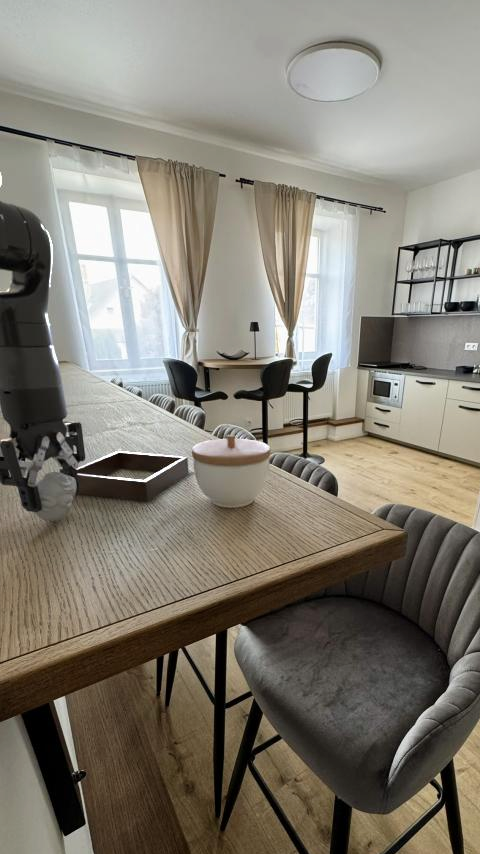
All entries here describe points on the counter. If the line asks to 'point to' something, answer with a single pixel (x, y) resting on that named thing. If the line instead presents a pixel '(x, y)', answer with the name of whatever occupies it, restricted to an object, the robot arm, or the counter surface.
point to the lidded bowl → (231, 470)
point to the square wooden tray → (99, 484)
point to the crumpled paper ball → (55, 495)
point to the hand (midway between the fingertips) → (53, 500)
